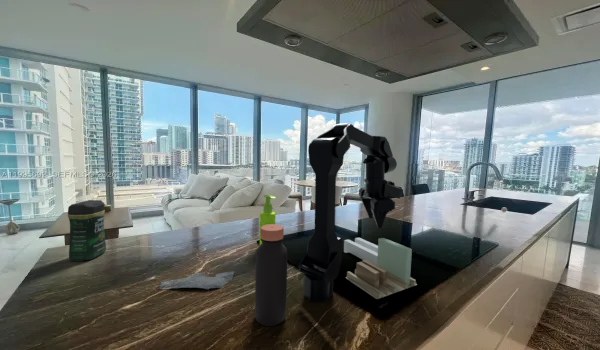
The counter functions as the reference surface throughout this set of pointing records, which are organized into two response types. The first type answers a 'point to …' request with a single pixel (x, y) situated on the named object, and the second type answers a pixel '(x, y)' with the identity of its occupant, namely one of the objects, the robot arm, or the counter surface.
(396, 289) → the birch rack
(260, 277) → the bottle
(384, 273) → the middle offcut
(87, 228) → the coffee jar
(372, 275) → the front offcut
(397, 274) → the green sheet
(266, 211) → the soap dispenser
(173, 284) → the stone slab
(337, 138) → the robot arm
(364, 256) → the grey slotted stand
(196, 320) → the counter surface
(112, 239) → the counter surface
